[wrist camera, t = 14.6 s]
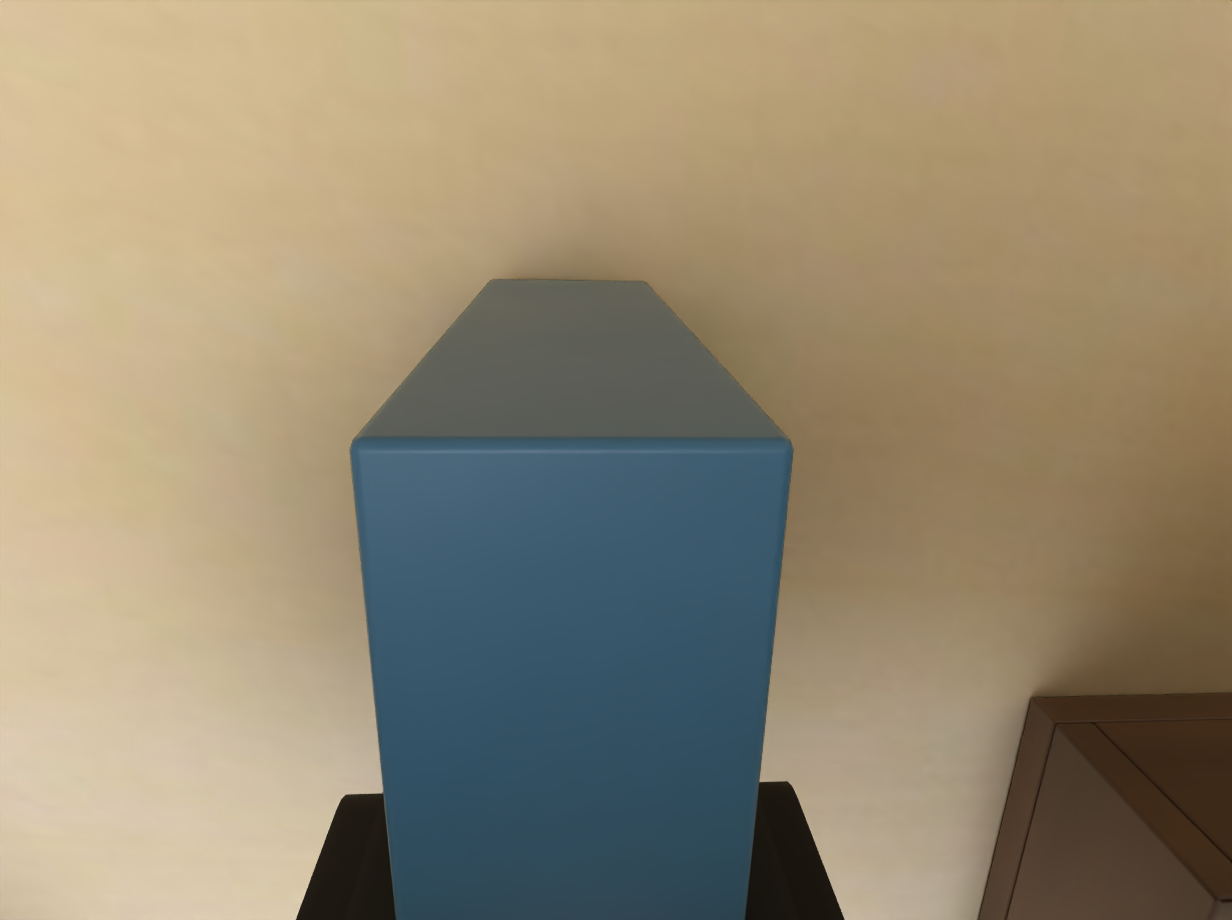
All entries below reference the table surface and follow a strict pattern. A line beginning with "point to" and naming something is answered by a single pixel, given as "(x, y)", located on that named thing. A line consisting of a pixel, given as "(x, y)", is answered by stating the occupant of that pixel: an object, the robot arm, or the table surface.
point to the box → (1118, 812)
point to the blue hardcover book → (570, 611)
